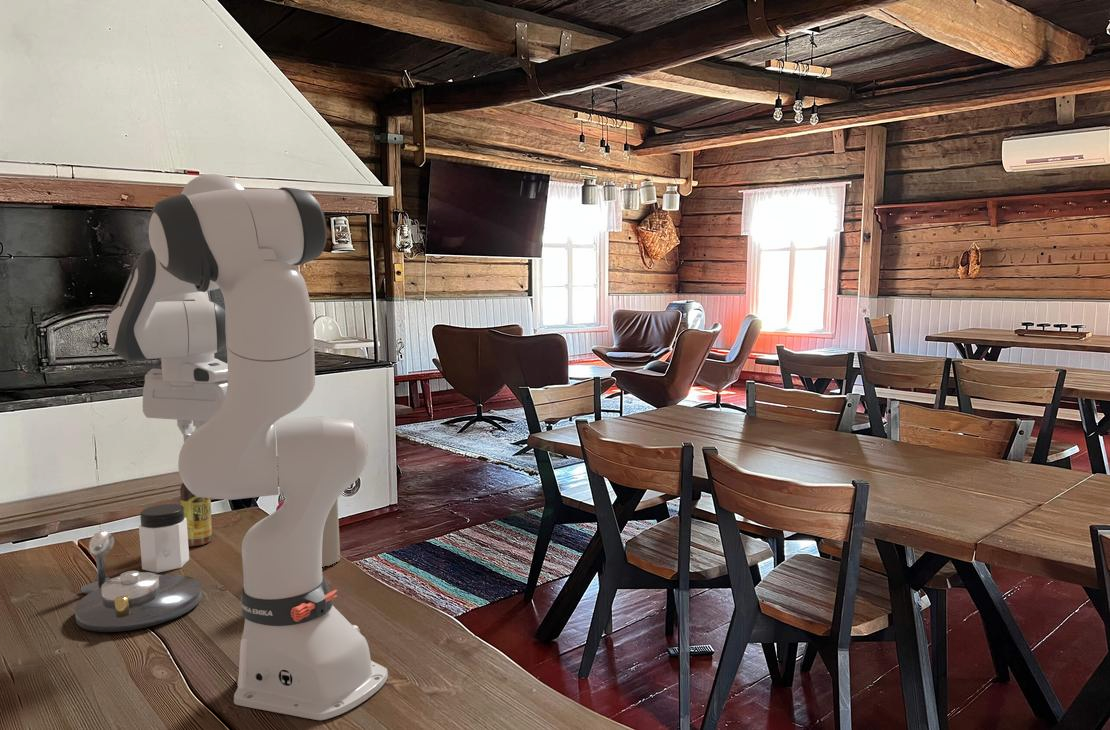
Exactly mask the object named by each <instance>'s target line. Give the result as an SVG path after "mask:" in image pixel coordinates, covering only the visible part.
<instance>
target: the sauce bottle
mask: <svg viewBox="0 0 1110 730" xmlns="http://www.w3.org/2000/svg"><path fill="white" fill-rule="evenodd" d="M179 489H180V491H179V493H180V499H179V503H180V504H179V505H182V506H183V507H184V517H185V518H187V532H188V547H198V546H199V547H200V546H203V545H207V544H208V543H210V542H211V541H212V539H213V537H212V534H213V529H212V527H213V525H212V524H213V523H212V502H211V499H212V498H202V497H196V496H195V495H194V494H192V493H191V492H190V491H189V490H188V489H187V487H186V486H185V485H184V483H183V482H182V483H181V486H180V488H179Z"/></svg>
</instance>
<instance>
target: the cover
mask: <svg viewBox="0 0 1110 730" xmlns="http://www.w3.org/2000/svg"><path fill="white" fill-rule="evenodd" d="M158 575H159V574H158V573H156V572H151V571H147V572H146V571H143V572H142V571H141V572H140V571H138V570H128V571H125V572H122V573H120V575H119V576H115V577H112V578H111V579H110V580H108V581H106V582H105V583H104V584H103V585H102V586H101V590H102V602H103V606H105V607H107V608H113V609H115V598H117V597H119V596H128V603H129V607H134V606H138V605H142V604H145V603H147V602H150V601H152V600H154V599H155V598H157V597H158V596H159V594H160V590H159V577H158Z"/></svg>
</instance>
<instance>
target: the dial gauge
mask: <svg viewBox="0 0 1110 730" xmlns="http://www.w3.org/2000/svg"><path fill="white" fill-rule="evenodd" d="M113 547H115V537H114V535H113V534H112V533H111V532H107V531H99V532H96V533H95V534H93V536H92V537H91V538H90V540H89V542H88V548H89V551H90V553H91V554H93V555H95V558H96V569H97V571H96V573H97V580H95V581H92V582H90V583H88V584H85V585H81V593H83V594H85V595H88V594H90V593H91V592H93V591H95V590H98V589H100V588H101V586H102V585H103V584H104V583H105V582H106V581H108V580H110V579H112V578H110V577H106V574H105V573H106V571H105V559H104V556H105V555H107V554H108V553H110V552H111V551H112V550H113Z"/></svg>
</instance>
